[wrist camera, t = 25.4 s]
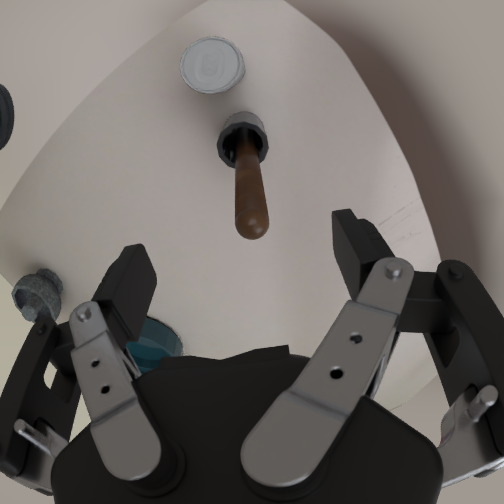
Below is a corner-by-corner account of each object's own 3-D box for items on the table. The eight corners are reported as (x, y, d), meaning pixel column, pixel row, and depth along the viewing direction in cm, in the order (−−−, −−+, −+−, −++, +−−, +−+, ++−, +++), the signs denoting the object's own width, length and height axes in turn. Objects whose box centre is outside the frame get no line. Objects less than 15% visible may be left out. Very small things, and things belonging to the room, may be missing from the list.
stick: (237, 141, 33) (239, 249, 18) (234, 125, 32) (231, 220, 16) (254, 138, 33) (273, 243, 17) (251, 122, 32) (268, 214, 16)
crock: (228, 152, 34) (223, 173, 28) (220, 115, 32) (212, 127, 25) (267, 145, 34) (271, 165, 27) (260, 108, 31) (263, 117, 25)
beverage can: (198, 85, 30) (173, 91, 20) (205, 46, 27) (183, 32, 17) (241, 90, 30) (237, 99, 20) (248, 51, 27) (248, 39, 18)
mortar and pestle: (58, 308, 49) (34, 354, 39) (24, 278, 45) (-6, 321, 35) (81, 282, 45) (52, 333, 35) (42, 246, 41) (5, 292, 31)
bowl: (129, 364, 58) (123, 382, 54) (94, 315, 50) (85, 335, 46) (193, 361, 57) (190, 382, 53) (165, 309, 48) (159, 331, 44)
